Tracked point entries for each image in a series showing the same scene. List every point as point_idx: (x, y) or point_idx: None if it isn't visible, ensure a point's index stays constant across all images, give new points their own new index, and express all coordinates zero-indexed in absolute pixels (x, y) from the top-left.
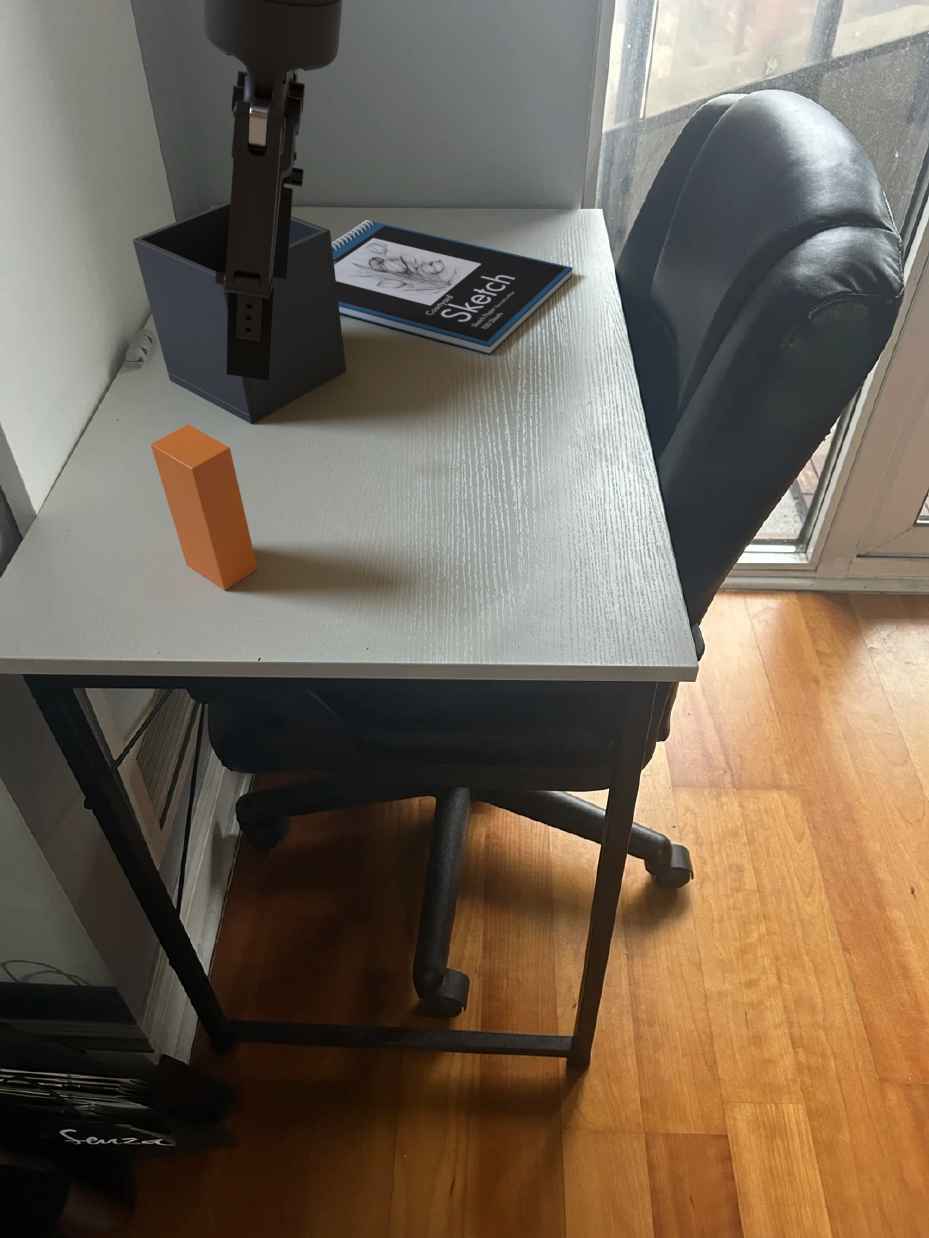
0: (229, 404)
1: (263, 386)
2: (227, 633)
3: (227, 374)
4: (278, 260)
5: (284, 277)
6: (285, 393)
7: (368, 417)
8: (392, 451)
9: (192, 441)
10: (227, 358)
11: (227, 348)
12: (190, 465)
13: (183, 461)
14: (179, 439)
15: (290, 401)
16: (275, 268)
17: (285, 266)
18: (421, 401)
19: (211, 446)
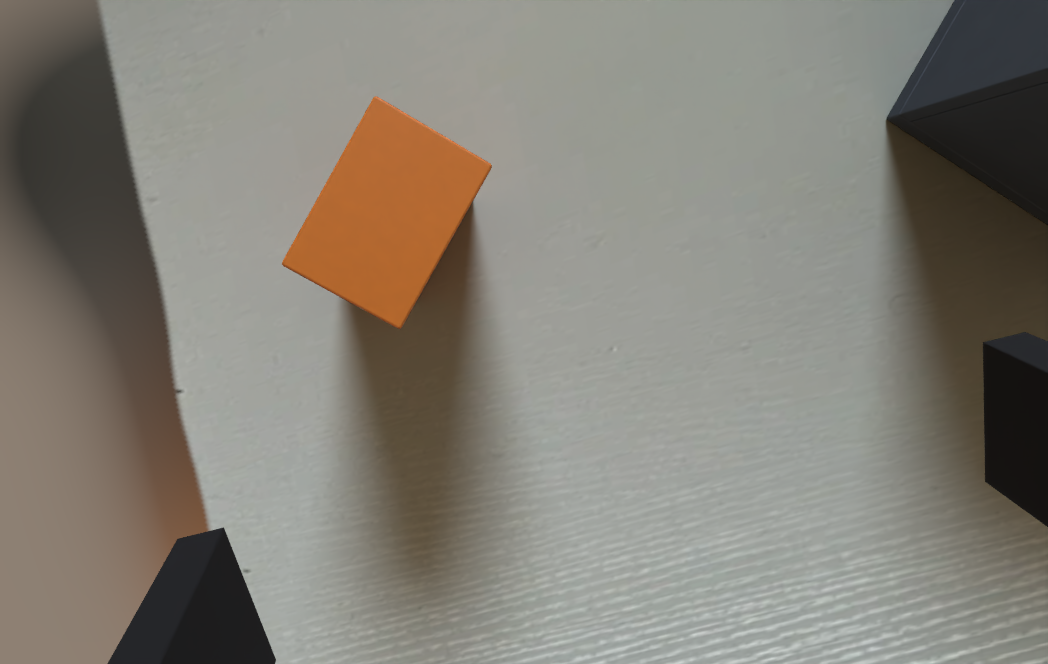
0: (937, 50)
1: (975, 134)
2: (229, 309)
3: (177, 543)
4: (1043, 488)
5: (989, 477)
6: (989, 172)
7: (938, 370)
8: (824, 454)
9: (409, 213)
10: (154, 586)
11: (138, 617)
12: (295, 253)
13: (310, 225)
14: (411, 172)
15: (980, 179)
16: (1015, 457)
17: (1026, 503)
18: None
19: (395, 276)
